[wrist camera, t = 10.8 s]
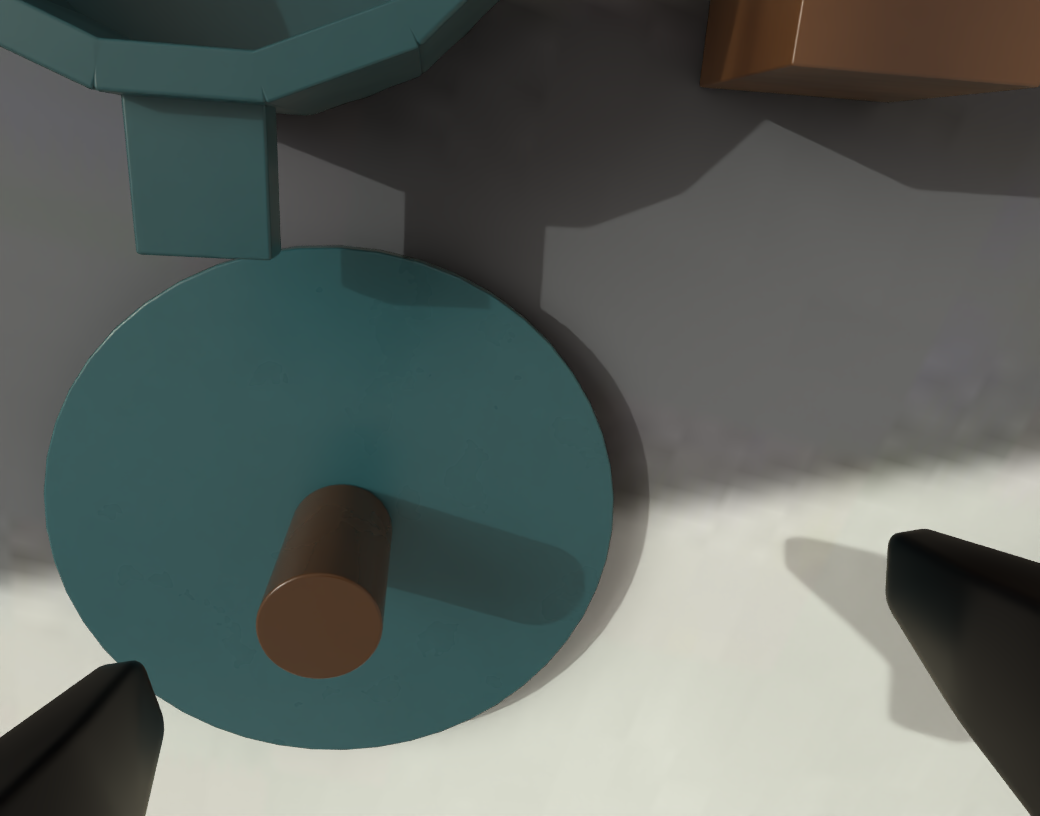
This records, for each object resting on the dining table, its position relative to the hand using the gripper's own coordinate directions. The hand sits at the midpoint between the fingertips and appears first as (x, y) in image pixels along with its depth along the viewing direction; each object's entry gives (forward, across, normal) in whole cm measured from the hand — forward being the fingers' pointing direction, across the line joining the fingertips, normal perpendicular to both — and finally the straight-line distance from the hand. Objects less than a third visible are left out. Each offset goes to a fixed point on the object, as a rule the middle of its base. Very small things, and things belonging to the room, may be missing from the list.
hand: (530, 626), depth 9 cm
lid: (+11, +4, +4) cm, 12 cm away
